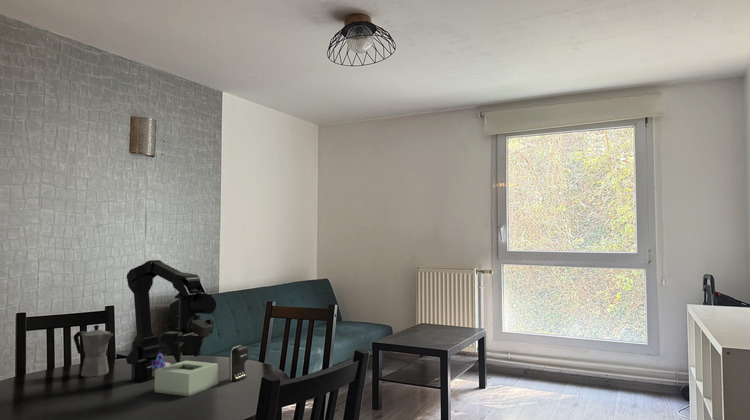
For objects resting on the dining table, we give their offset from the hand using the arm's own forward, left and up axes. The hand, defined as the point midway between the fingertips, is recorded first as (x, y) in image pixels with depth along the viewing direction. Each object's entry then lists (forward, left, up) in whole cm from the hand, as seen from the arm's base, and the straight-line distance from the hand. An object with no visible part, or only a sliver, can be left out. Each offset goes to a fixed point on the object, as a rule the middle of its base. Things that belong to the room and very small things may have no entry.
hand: (187, 359), depth 167 cm
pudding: (-33, +19, -10) cm, 39 cm away
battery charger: (+10, +15, -10) cm, 21 cm away
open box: (0, 0, -10) cm, 10 cm away
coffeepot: (-47, +3, -10) cm, 48 cm away
